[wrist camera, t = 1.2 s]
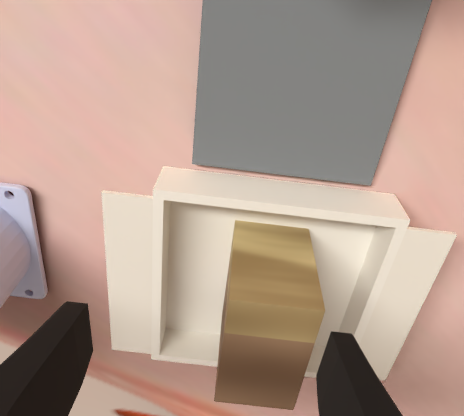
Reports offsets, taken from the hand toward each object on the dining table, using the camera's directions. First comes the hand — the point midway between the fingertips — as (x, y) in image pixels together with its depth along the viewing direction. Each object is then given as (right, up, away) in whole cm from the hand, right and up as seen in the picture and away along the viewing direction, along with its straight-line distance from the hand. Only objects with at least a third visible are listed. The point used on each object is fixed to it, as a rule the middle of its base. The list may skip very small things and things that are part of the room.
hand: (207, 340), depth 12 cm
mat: (+4, +10, +6) cm, 12 cm away
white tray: (+3, 0, +12) cm, 12 cm away
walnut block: (+3, 0, +12) cm, 12 cm away
